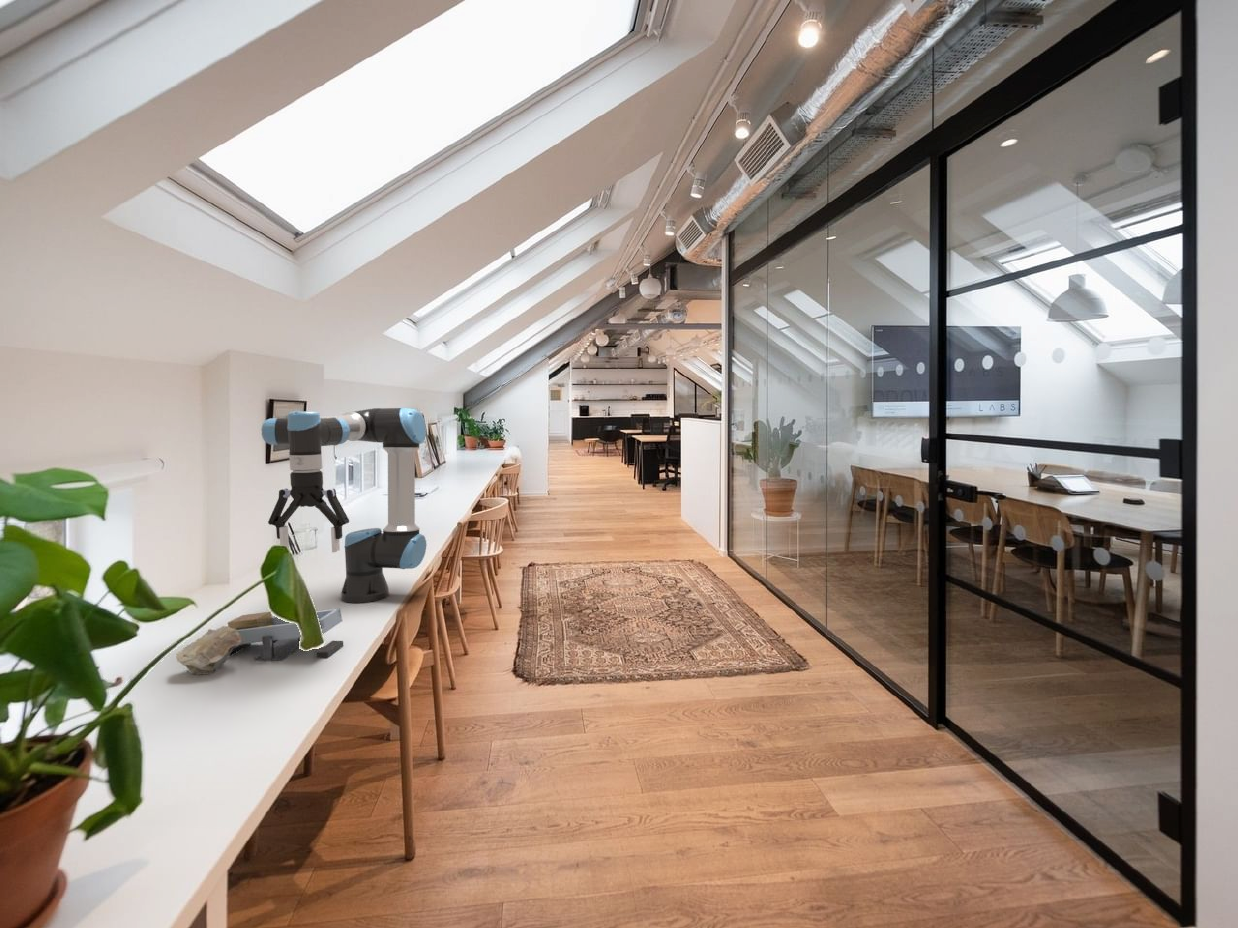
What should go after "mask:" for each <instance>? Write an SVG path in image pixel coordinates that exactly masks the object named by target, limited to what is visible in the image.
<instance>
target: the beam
mask: <svg viewBox="0 0 1238 928" xmlns="http://www.w3.org/2000/svg"><path fill="white" fill-rule="evenodd" d="M316 612H317V615H318V618H319V622H320V625H321V629H322V633H323V634H322V635H324V634H326V633H327V632H328V631H330V630H331V629H334V627H336V626H337V625H339V624H341V622H343V617H342V612H341V608H333V609H332V608H331V609H325V610H316ZM272 621H273V625H270V626H264V627H256V628H248V629H240V630H237V631H238V633H239V635H240V636H241V638H242V639H243V642H242V643H241V644H248V643H251V644H254V643H262V637H263V636H272V641H273V640H281V639H289V638H297V637H301V635H300V632H299V629H298V627H297V625H296V624H295V623H289V622H285V621H283V620H281V619H278V618H277V617H275V615H274V616H272ZM301 638H302V637H301ZM239 645H240V644H239Z"/></svg>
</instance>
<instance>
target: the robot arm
mask: <svg viewBox="0 0 1238 928" xmlns="http://www.w3.org/2000/svg"><path fill="white" fill-rule="evenodd" d="M260 431H261V436H262V440H263V441H264V442H265V443H266V444H268V445H270V446H272V445H273V446H288V448H289V449H288V450H289V453H288V454H289V455H288V456H289V457H288V458H289V469H290V471H292V472H290V474H289V476H290V486H291V489H288V488H282V489H280V490H278V499H277V501H276V503H275V505H274V508H273V510H272V513H271V515H270V517H269V518H268V522H267V523H268V525H269V526H274V527H276V539H277V540H279V546H280V545H284V546H287V547H288V548H289V549H290V543H289V542H290V541H289V540H290V539H289V537H290V536H289V526H288V525H286V523H287V522H288V521H289V520H290V519H291V517H292V516H293V514H294V513H295V512H296V511H297V509H298V508H299V507H300V508H302V507H308V508H310V507H311V508H312V507H315V508H316V509H318V510H319V511H320V512H321V513H322V515H323V516H324V517H325V519H327V520H328V521H329V522H330V523H331V524H332V527H330V536H331V539H330V540H331V553H337V552H338V551H340V550H341V549H340V542H341V541H340V540H341V539H342V538H343V526H344V525H347V524H349V523H350V519H349V517H348V515H347V513H346V512H345V509H344V508H343V505H342V504H341V502H340V500H339V499H338V497H337V491H336V489H335V488H330V489H327V490H324V487H323V485H324V472H323V471H322V469H323V458H322V457H323V456H322V454H323V453H322V447H328V446H338V445H343V444H345V443H346V442H347V441H350V442H356V441H357V442H367V443H368V442H370V443H382V449H383V450H384V451H385V452H386V453H387V525H386V526H385V527H384V528H383V529H382V528H379V527H373V528H365V529H359V530H356V531H352V532H349V533H348V534H346V535H345V538H344V554H345V555H344V557H345V574H346V575H345V576H346V577H345V580H344V583H343V587H342V590H341V593H340V595H341V596H340V597H341V600H342V602H346V603H350V604H351V603H352V604H360V603H361V604H362V603H370V602H372V603H373V602H375V601H379V600H382V599H385V598H387V597H388V596H389V594H390V590H389V588H390V587H389V586H388V583H387V580H386V577H385V575H384V572H383V570H384V569H400V570H405V569H406V570H407V569H408V570H409V569H410V570H411V569H416V568H417V567H419V565H421V563H422V561H423V560H424V557H425V554H426V552H427V551H426V550H427V539H426V536H425V535H423V534H421V533H420V527H419V526H418V525H417V524H416V523H415V520H416V519H415V518H416V513H415V509H416V507H415V506H416V502H415V501H416V500H415V498H416V497H415V495H416V493H415V492H416V491H415V488H416V487H415V485H416V484H415V483H416V481H415V479H416V478H415V477H416V476H415V474H416V473H415V465H416V463H415V459H416V458H415V457H416V454H415V453H416V452H417V451H419V449H420V444H421V443H423V442H424V441H425V440H426V436H427V425H426V420H425V419H424V417H423V415H422V413H421V412H420V411H419V410H418V409H416V408H408V407H393V408H392V407H388V408H385V407H384V408H382V407H380V408H379V407H378V408H377V407H376V408H368V409H361V410H355V411H346V412H345V413H343V414H340V415H326V416H325V415H324V416H323V415H322V416H321V415H320V413H319V412H318V411H308V410H307V411H290V412H289V413H288V415H287V417H285V418H284V417H275V418H274V417H273V418H268V419H266V420H265V421H264V422H263V423H262V426H261V430H260ZM290 496H291V498H292V499H293V500H292V501H291V503H290V504H289V506H288V507H287V508H286V510H285V511H284V509H285V506H286V505H287V503H288V500H289V499H288V498H290ZM324 496H325V498H326V499H327V501H328V504H329V505H330V507H329V505H328V504H327V502H326V501H325V499H323V497H324ZM283 511H284V512H283ZM386 596H387V597H386Z"/></svg>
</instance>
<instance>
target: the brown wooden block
mask: <svg viewBox="0 0 1238 928" xmlns="http://www.w3.org/2000/svg"><path fill="white" fill-rule="evenodd" d="M272 617H273V616H272V612H271V611H265V612H257V613H256V612H255V613H249V614H248V613H247V614H241V615H240V616H238V617H236V618H234V619H232V620H230V621H228V622H227V626H228V627H230V628H233V629H236V630H240V629H248V628H256V627H264V626H270V625H273V621H272Z"/></svg>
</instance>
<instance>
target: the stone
mask: <svg viewBox="0 0 1238 928" xmlns="http://www.w3.org/2000/svg"><path fill="white" fill-rule="evenodd" d="M242 642H243V639H242V638H241V636H240V635H239V633H238V631H237V630H236V629H233V628H230V627H228V625H226V626H225V625H222V626H221V627H219V628H217V629H216V630H215V629H212V628H208V629H207V631H206V633H205V634H203V635H202V637H198V638H197V639H196V640H195V641H192V642H191V643H190V644H188V645H186V646H185V647H183V649H182V650H180V651H178V652H177V653H176V656H175V657H176V658H175V660H176V662H177V663H179V664H181V666H185V667H186V669H187V670H189V672H190V673H191V675H210V674H214V673H216V672H217V671H218V670H220V668H221V667H222V666H223V665H224V663H226V661H227V660H228V658H229V657H230V656H229V655H230V653H231V651H232V650H233V648H234V647H235V646H238V645H239V644H241V643H242Z"/></svg>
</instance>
